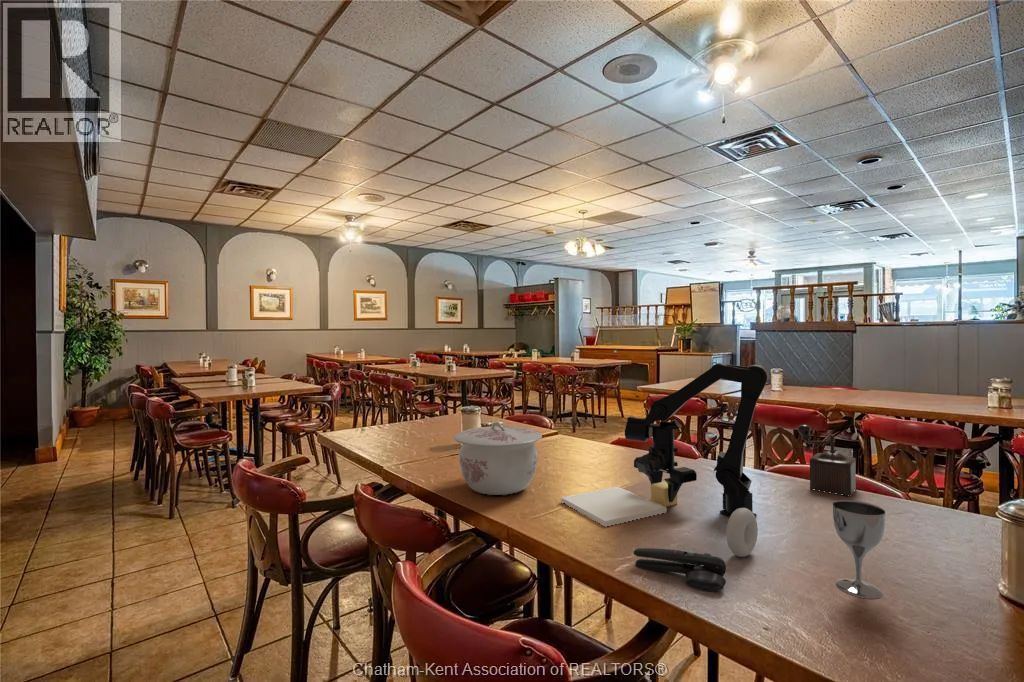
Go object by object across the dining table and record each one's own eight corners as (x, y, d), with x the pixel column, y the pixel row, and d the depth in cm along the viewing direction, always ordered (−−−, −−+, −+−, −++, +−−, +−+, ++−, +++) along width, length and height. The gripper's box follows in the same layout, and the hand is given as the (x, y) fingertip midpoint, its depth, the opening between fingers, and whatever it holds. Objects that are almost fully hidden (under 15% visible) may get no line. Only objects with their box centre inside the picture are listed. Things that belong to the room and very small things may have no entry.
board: (666, 512, 128) (666, 507, 128) (605, 527, 119) (605, 521, 119) (617, 491, 146) (617, 486, 146) (561, 502, 137) (561, 497, 137)
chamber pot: (528, 508, 132) (527, 433, 132) (438, 499, 141) (437, 428, 141) (553, 479, 159) (552, 416, 158) (476, 472, 168) (475, 413, 167)
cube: (677, 504, 134) (677, 486, 134) (663, 507, 132) (663, 488, 132) (664, 498, 139) (664, 481, 139) (650, 501, 136) (650, 484, 136)
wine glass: (863, 577, 93) (862, 499, 93) (897, 599, 85) (897, 514, 85) (822, 578, 93) (822, 500, 93) (853, 601, 85) (853, 515, 85)
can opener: (730, 582, 92) (730, 552, 92) (722, 598, 87) (722, 567, 87) (640, 558, 103) (640, 532, 102) (628, 572, 97) (627, 544, 97)
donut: (744, 546, 107) (744, 501, 107) (760, 551, 105) (760, 505, 105) (723, 560, 101) (722, 512, 101) (740, 565, 98) (739, 516, 98)
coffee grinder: (857, 488, 146) (857, 428, 146) (850, 497, 138) (850, 434, 138) (799, 478, 157) (798, 422, 156) (789, 486, 149) (789, 427, 148)
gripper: (618, 440, 140) (619, 494, 140) (666, 454, 123) (666, 515, 123) (648, 436, 145) (648, 488, 145) (697, 449, 128) (698, 507, 128)
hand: (663, 499), depth 135 cm, fingers closed on cube, 5 cm apart
